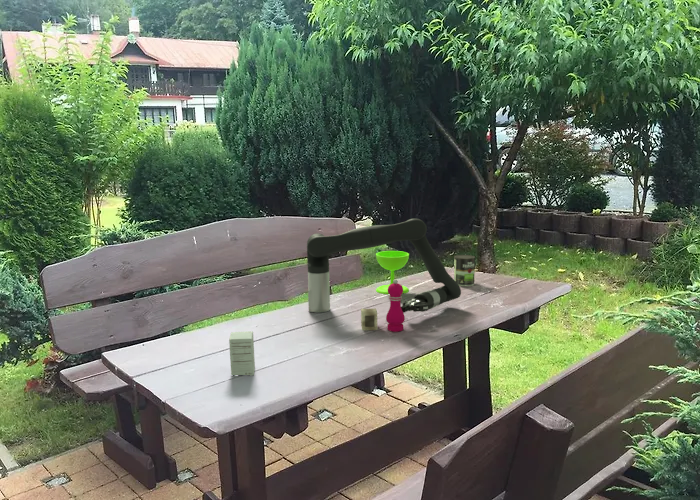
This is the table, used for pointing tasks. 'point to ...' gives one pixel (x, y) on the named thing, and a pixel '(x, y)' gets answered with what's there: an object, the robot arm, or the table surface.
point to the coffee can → (464, 270)
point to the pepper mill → (395, 308)
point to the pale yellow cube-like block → (369, 319)
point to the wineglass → (391, 266)
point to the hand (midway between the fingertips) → (401, 309)
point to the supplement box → (242, 353)
